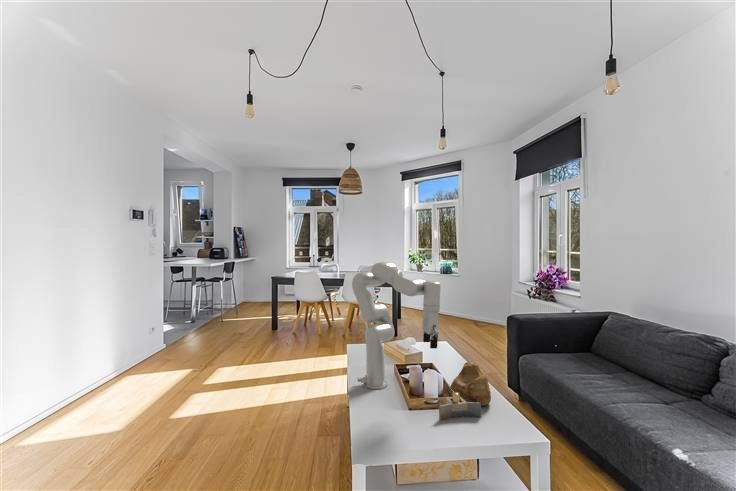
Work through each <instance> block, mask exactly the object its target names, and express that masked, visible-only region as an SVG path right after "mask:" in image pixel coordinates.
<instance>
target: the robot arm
mask: <svg viewBox="0 0 736 491" xmlns="http://www.w3.org/2000/svg"><path fill="white" fill-rule="evenodd" d="M385 283H387V284H389V285H391V286H392V287H393V289H394V290H395V291H396V292H398V293H401V294H402V295H405V296H406V297H417V296H423V304H422V306H423V307H422V312H423V313H422V322H421V330H422V332H423V336H422V338H423V340H422V341H423V343H429V344H430V345H429V348H430V349H438V343H439V342H438V341H439V326H440V324H439V321H440V320H439V313H440V312H441V310H440V307H441V283H440V282H438V281H434V280H428V279H424V278H418V279H417V278H416V279H407V278H405V277H403V271H402V270H400V269H398V268H397V266H396V264H395V263H393V262H390V261H384V262H383V261H381V262H377V263H375V264H374V265H372V266H371V270H370V271H361V272H358V273H356V274H355V275H354V276H353V278H352V281H351V289H352V291H353V294H354V296H355V299H356V301H357V304H358V305H357V306H358V309H359V311H360V315H361V318H362V320H363V322H364V323H366V324H372V323H373V324H372V325H369V326H368V327H366V329H365V330H364V339H365V348H366V355H365V356H366V374H365V375H364V376H363V377H357V383H359V382H360V383H362V384H363V387H365V388H366V389H369V390H370V389H371V390H380V389H385V388H387V387H388V382H387V380H386V379H385V376H386V375H385V374H386V372H385V365H386V364H385V359H386V358H385V353H386V352H385V348H384V346H383V344H382V343H383V342H387V341H390V340H392V339H394V336H395V332H396V331H395V327H394V326H395V325H394V324H393V323H394V322H393V320H392V317H391V314H390V311H389V309H388V307H387V306H386V305H385V304H383V303H375V301H374V298H373V295H372V293H371V292H370V291H369V290H368V288H374V287H375V288H376V287H380V286H382V285H384V284H385ZM376 322H377V324H374V323H376Z"/></svg>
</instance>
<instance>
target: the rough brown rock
mask: <svg viewBox="0 0 736 491" xmlns="http://www.w3.org/2000/svg"><path fill="white" fill-rule="evenodd" d="M449 388H450V390H451V389H452V390H453V391H454V392H458V393H460V397H461V398H462V399H464V400H465V401H466V402H480V403H481V407H482V406H486V405H489V404H490V403H491V402H492V401H491V400H492V395H491V394H492V393H491V388H490V384H489V380H488V378H487V376H486V375H485V374H484V373H483V372H482V370H481V368H480V366H479V365H478V364H477V363H471V362H469V361H466V362H464V364H463V366H462V369H461V371H459V374H457V376H455V378H454V379H453V380H452V383H451V384H450V386H449ZM452 390H451V391H452ZM453 391H452V392H453Z"/></svg>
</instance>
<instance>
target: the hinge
mask: <svg viewBox="0 0 736 491" xmlns="http://www.w3.org/2000/svg"><path fill="white" fill-rule="evenodd" d="M481 417H482V406H481V403H480V402H467V401H465V400H464V399H462V398H461V397H460V402H458V403H453V396H451V397H445V403H443V404H440V405H438V420H439V421H446V420H450V419H460V418H481Z"/></svg>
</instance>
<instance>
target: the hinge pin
mask: <svg viewBox="0 0 736 491" xmlns="http://www.w3.org/2000/svg"><path fill="white" fill-rule="evenodd" d="M452 397H453V403H458V402H460V393H458V392H453V391H452Z"/></svg>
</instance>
